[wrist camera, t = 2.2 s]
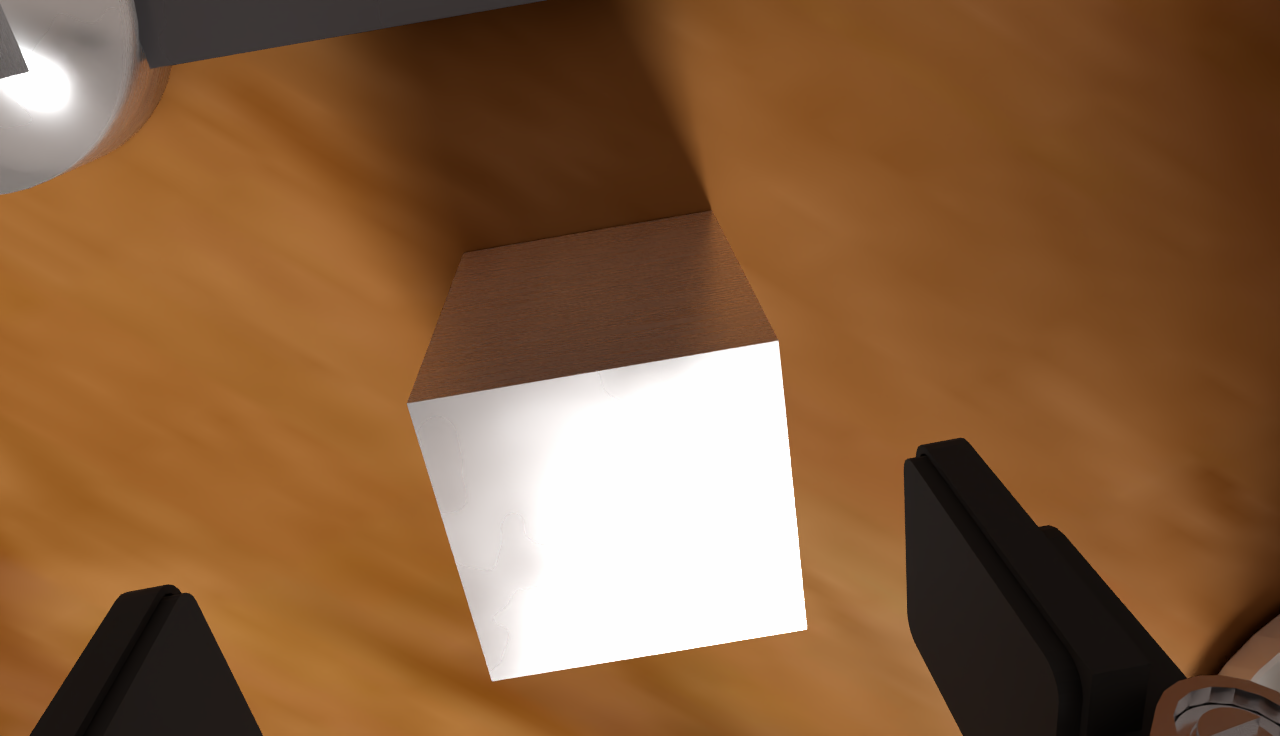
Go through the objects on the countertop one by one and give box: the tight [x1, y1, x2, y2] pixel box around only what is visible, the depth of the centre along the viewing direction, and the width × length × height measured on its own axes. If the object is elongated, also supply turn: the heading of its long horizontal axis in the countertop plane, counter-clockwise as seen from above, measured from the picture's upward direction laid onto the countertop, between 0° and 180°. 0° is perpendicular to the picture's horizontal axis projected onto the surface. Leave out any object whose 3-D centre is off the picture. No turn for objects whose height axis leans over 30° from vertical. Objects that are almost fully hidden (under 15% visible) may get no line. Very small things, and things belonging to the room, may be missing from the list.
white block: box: [407, 210, 807, 681], centre depth 17 cm, size 5×5×7 cm
